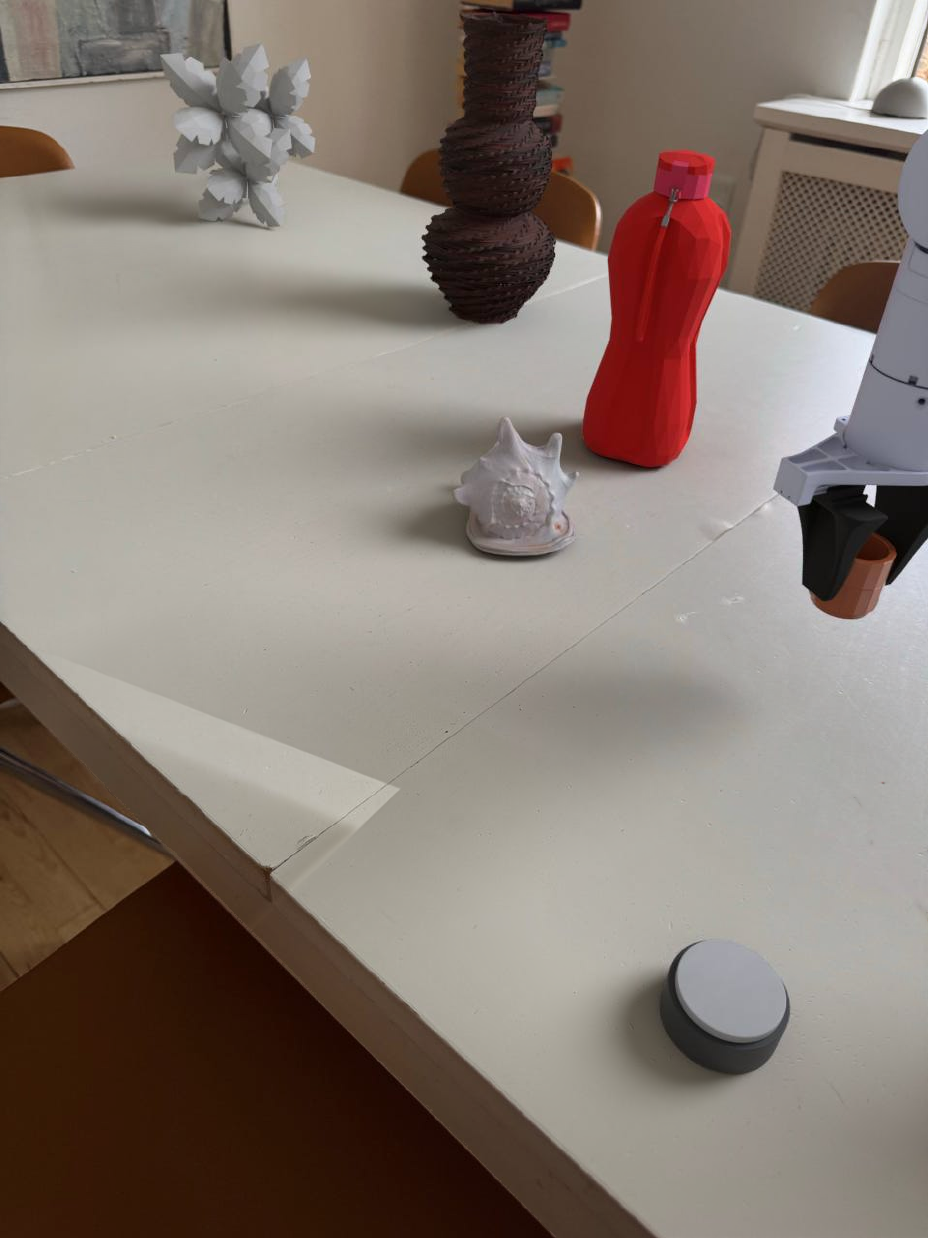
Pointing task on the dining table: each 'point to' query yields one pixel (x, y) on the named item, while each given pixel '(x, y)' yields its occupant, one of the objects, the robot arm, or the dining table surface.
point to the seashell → (518, 497)
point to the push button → (724, 1006)
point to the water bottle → (657, 314)
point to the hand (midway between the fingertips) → (847, 583)
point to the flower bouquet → (239, 129)
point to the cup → (861, 581)
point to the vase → (494, 176)
